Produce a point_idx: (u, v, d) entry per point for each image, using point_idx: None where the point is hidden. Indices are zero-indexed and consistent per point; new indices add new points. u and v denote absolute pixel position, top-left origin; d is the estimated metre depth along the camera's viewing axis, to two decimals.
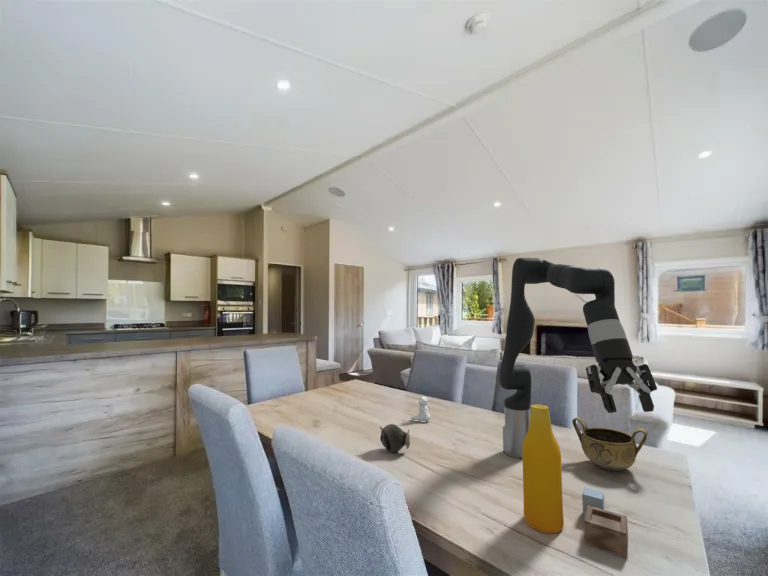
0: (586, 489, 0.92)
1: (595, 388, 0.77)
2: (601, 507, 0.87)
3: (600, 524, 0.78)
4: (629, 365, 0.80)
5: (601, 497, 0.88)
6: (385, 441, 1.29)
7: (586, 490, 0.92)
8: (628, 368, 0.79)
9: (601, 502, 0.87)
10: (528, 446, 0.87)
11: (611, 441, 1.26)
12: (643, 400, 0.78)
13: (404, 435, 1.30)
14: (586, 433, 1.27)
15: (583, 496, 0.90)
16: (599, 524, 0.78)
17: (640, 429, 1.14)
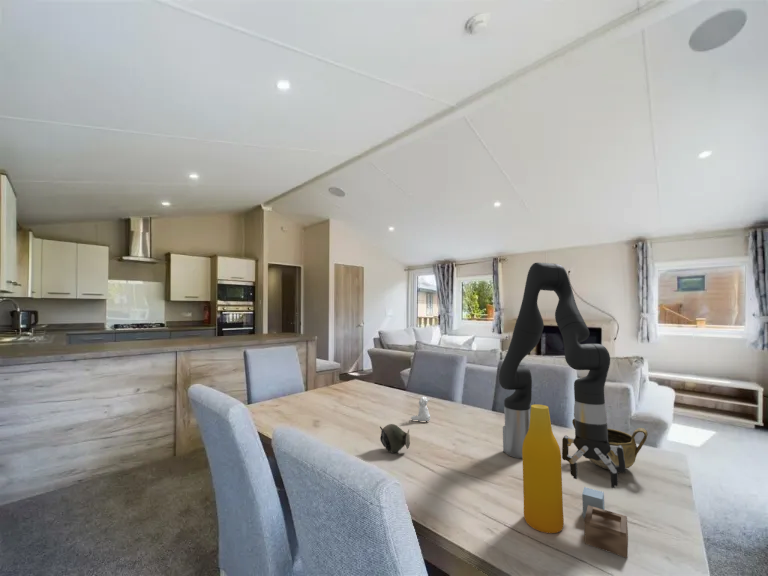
0: (586, 489, 0.92)
1: None
2: (601, 507, 0.87)
3: (600, 524, 0.78)
4: (601, 445, 0.89)
5: (601, 497, 0.88)
6: (385, 441, 1.29)
7: (586, 490, 0.92)
8: (596, 449, 0.89)
9: (601, 502, 0.87)
10: (528, 446, 0.87)
11: (611, 441, 1.26)
12: None
13: (404, 435, 1.30)
14: None
15: (583, 496, 0.90)
16: (599, 524, 0.78)
17: (640, 429, 1.14)
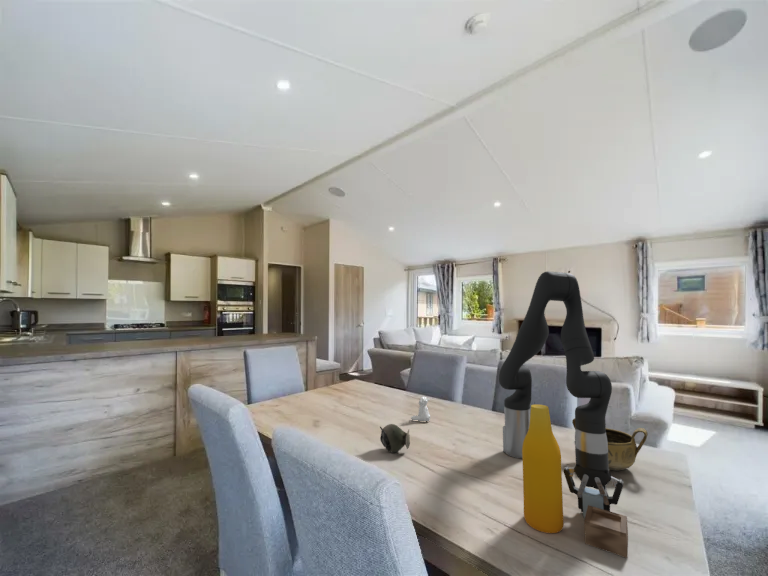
0: (586, 489, 0.92)
1: None
2: (601, 507, 0.87)
3: (600, 524, 0.78)
4: (603, 474, 0.88)
5: (601, 497, 0.88)
6: (385, 441, 1.29)
7: (586, 489, 0.92)
8: (597, 478, 0.88)
9: (601, 502, 0.87)
10: (528, 446, 0.87)
11: (611, 441, 1.26)
12: None
13: (404, 435, 1.30)
14: None
15: (583, 496, 0.90)
16: (599, 524, 0.78)
17: (640, 429, 1.14)
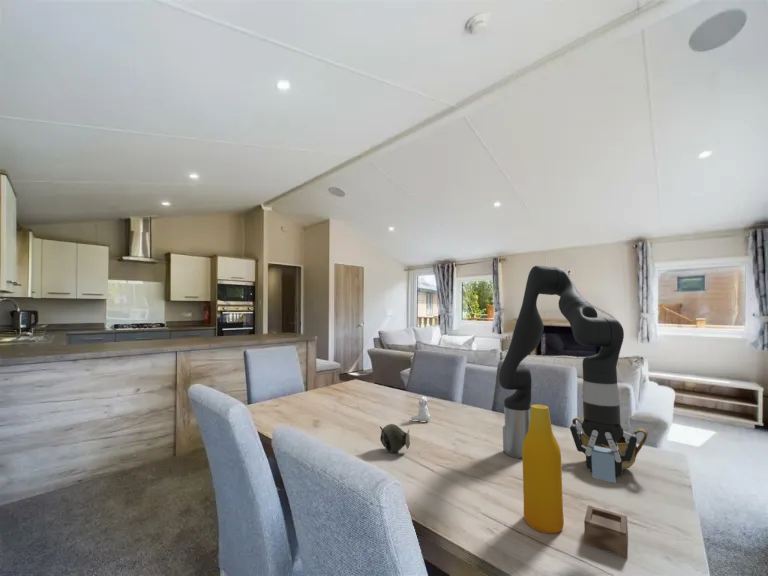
0: (595, 447, 0.84)
1: None
2: (612, 464, 0.79)
3: (600, 524, 0.78)
4: (614, 429, 0.80)
5: (612, 454, 0.80)
6: (385, 441, 1.29)
7: (595, 448, 0.83)
8: (608, 433, 0.80)
9: (612, 459, 0.79)
10: (528, 446, 0.87)
11: None
12: None
13: (404, 435, 1.30)
14: None
15: (592, 454, 0.81)
16: (599, 524, 0.78)
17: (640, 429, 1.14)
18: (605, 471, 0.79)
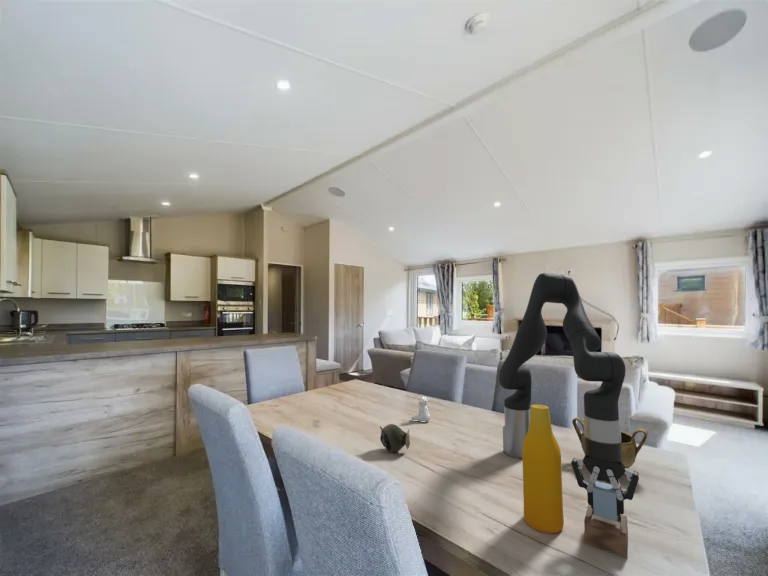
0: (597, 483, 0.83)
1: None
2: (614, 502, 0.78)
3: (600, 524, 0.78)
4: (616, 466, 0.79)
5: (614, 491, 0.79)
6: (385, 441, 1.29)
7: (597, 483, 0.83)
8: (609, 470, 0.79)
9: (614, 497, 0.78)
10: (528, 446, 0.87)
11: None
12: None
13: (404, 435, 1.30)
14: None
15: (594, 490, 0.80)
16: (599, 524, 0.78)
17: (640, 429, 1.14)
18: (607, 509, 0.79)
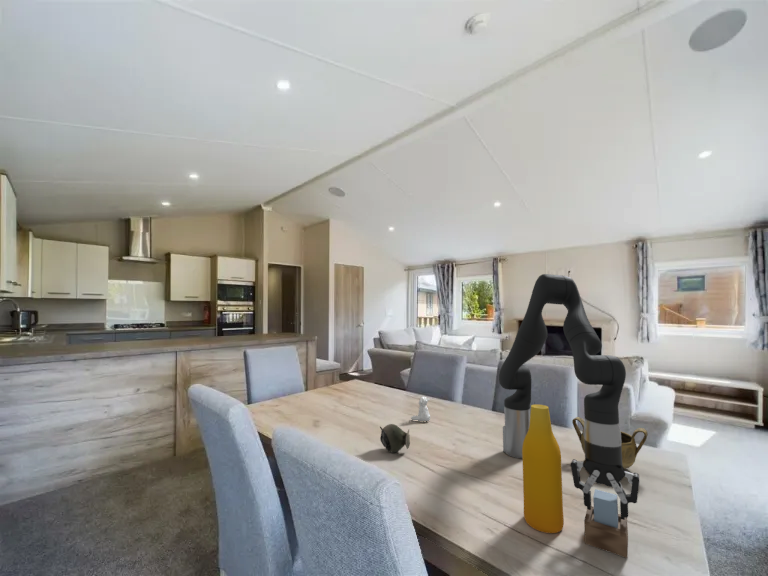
0: (597, 491, 0.83)
1: None
2: (615, 512, 0.78)
3: (600, 524, 0.78)
4: (615, 470, 0.79)
5: (615, 501, 0.79)
6: (385, 441, 1.29)
7: (597, 492, 0.82)
8: (609, 474, 0.79)
9: (615, 506, 0.78)
10: (528, 446, 0.87)
11: None
12: None
13: (404, 435, 1.30)
14: None
15: (594, 499, 0.80)
16: (599, 524, 0.78)
17: (640, 429, 1.14)
18: (607, 518, 0.79)
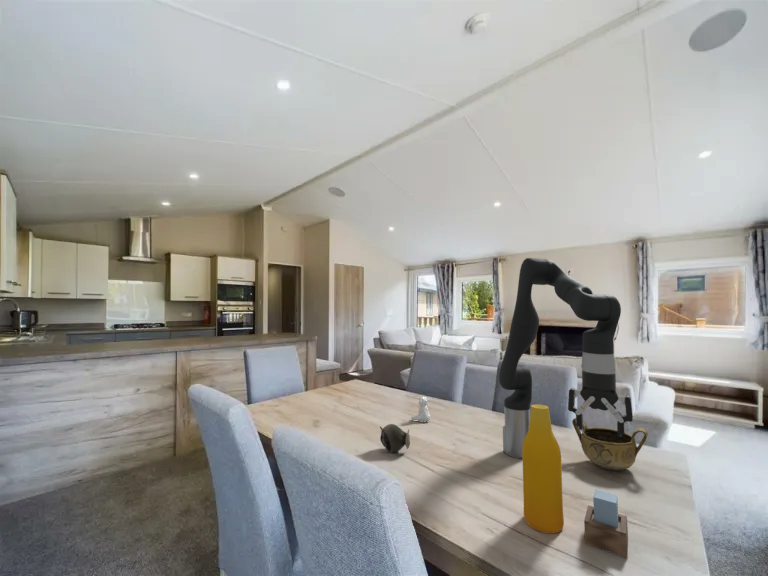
0: (597, 491, 0.83)
1: None
2: (615, 512, 0.78)
3: (600, 524, 0.78)
4: (609, 395, 0.88)
5: (615, 501, 0.79)
6: (385, 441, 1.29)
7: (597, 492, 0.82)
8: (603, 399, 0.88)
9: (615, 506, 0.78)
10: (528, 446, 0.87)
11: (611, 441, 1.26)
12: None
13: (404, 435, 1.30)
14: (586, 433, 1.27)
15: (594, 499, 0.80)
16: (599, 524, 0.78)
17: (640, 429, 1.14)
18: (607, 518, 0.79)
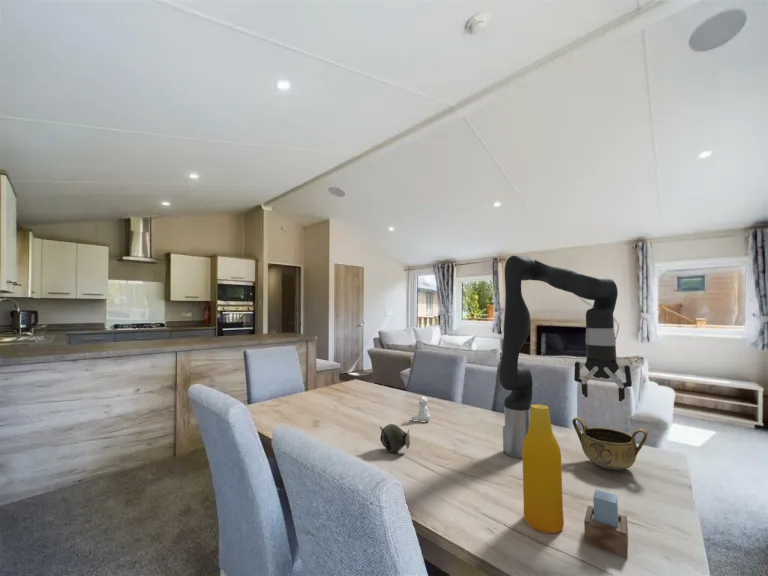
0: (597, 491, 0.83)
1: None
2: (615, 512, 0.78)
3: (600, 524, 0.78)
4: (610, 365, 1.00)
5: (615, 501, 0.79)
6: (385, 441, 1.29)
7: (597, 492, 0.82)
8: (605, 368, 0.99)
9: (615, 506, 0.78)
10: (528, 446, 0.87)
11: (611, 441, 1.26)
12: None
13: (404, 435, 1.30)
14: (586, 433, 1.27)
15: (594, 499, 0.80)
16: (599, 524, 0.78)
17: (640, 429, 1.14)
18: (607, 518, 0.79)
